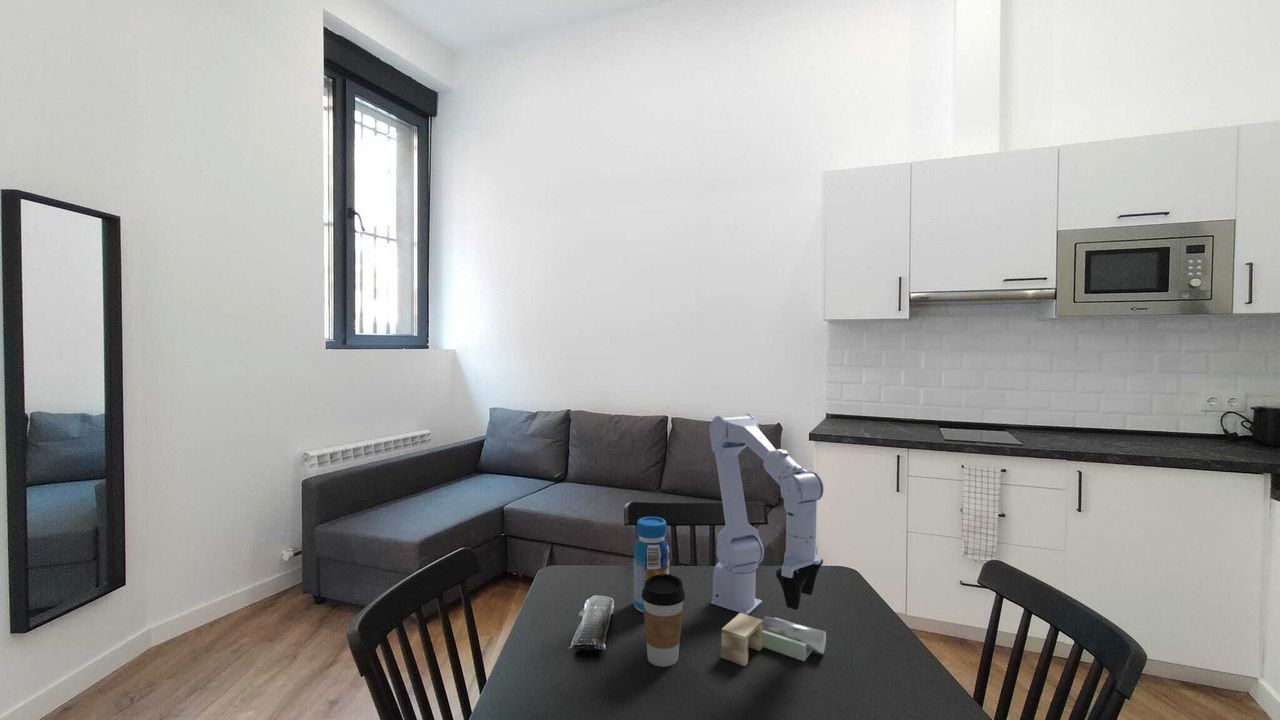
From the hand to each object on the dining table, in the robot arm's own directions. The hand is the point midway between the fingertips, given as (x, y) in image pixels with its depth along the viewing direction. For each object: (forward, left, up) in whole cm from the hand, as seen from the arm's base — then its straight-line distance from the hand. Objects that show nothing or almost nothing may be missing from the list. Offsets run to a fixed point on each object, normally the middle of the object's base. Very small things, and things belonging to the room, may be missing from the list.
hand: (799, 600), depth 114 cm
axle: (-1, -1, -9) cm, 9 cm away
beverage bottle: (-34, -3, -10) cm, 36 cm away
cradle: (-2, 0, -10) cm, 10 cm away
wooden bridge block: (-9, -8, -10) cm, 15 cm away
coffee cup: (-20, -19, -10) cm, 29 cm away
